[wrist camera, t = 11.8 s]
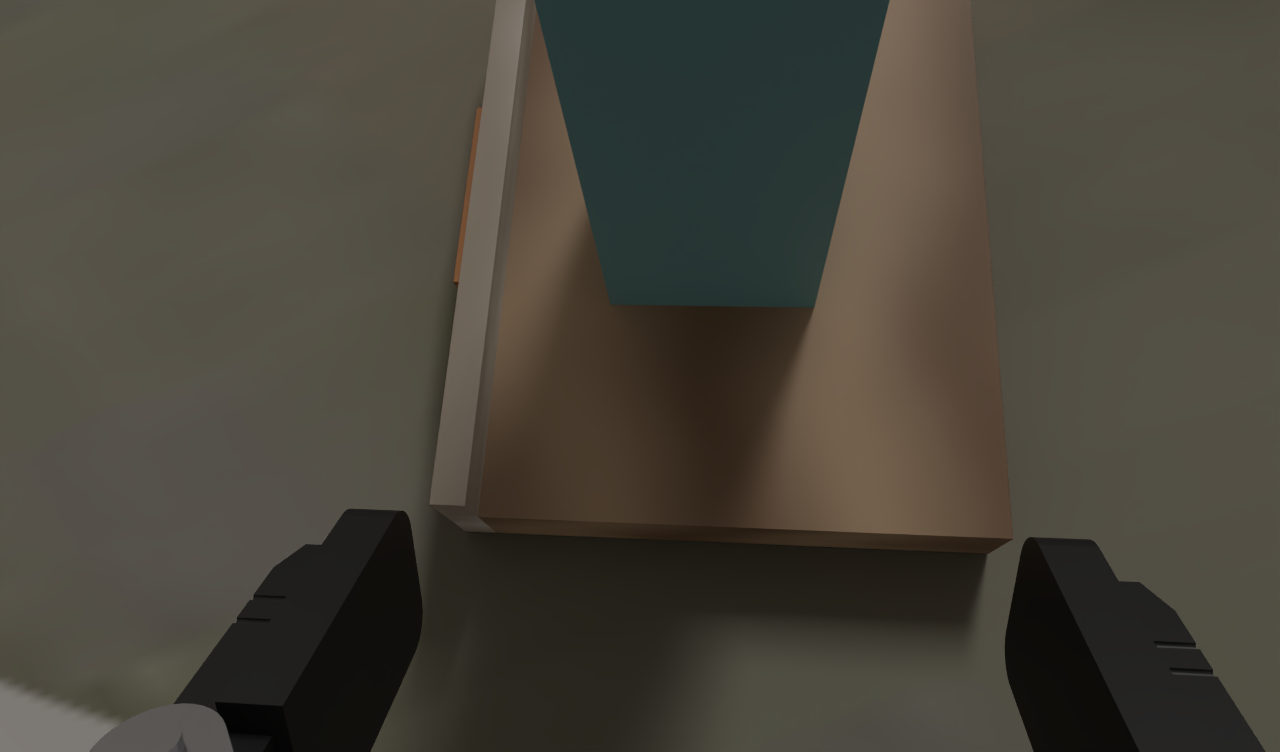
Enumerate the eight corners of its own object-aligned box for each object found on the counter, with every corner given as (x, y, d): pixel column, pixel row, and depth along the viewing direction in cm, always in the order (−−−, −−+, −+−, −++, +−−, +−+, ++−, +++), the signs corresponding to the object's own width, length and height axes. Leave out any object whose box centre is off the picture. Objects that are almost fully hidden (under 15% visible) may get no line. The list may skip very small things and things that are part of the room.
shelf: (950, 14, 28) (978, -71, 25) (988, 553, 22) (1030, 528, 19) (520, 17, 29) (497, -64, 26) (457, 531, 24) (420, 504, 21)
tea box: (811, 132, 24) (895, -364, 13) (814, 307, 23) (912, -92, 12) (619, 133, 25) (542, -347, 14) (607, 304, 23) (508, -83, 12)
